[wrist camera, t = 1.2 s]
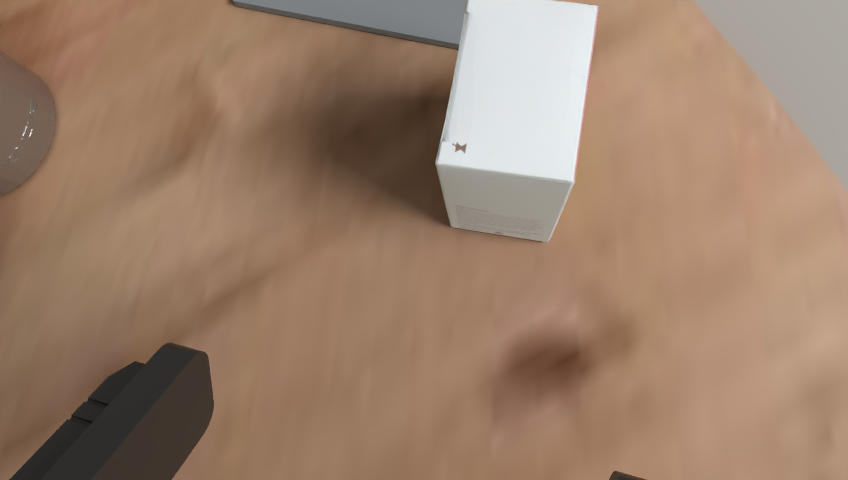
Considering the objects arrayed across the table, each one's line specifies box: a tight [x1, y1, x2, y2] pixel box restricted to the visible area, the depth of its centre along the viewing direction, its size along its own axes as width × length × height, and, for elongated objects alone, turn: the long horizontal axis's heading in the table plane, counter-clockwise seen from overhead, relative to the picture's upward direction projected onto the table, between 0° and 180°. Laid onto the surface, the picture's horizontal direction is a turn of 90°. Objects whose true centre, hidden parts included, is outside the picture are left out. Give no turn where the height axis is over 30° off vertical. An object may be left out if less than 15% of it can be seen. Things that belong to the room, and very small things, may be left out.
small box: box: [435, 0, 599, 242], centre depth 30 cm, size 8×6×10 cm
